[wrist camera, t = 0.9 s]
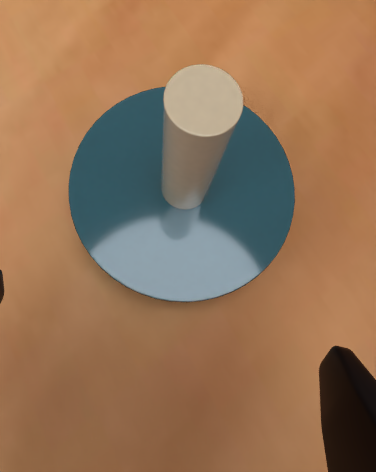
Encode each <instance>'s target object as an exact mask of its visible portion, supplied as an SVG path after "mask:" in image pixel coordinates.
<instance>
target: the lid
mask: <svg viewBox="0 0 376 472" xmlns="http://www.w3.org/2000/svg"><path fill="white" fill-rule="evenodd" d="M294 203H295V194H294V182H293V176H292V172H291V168H290V165H289V161H288V159H287V157H286V154H285V152H284V150H283V148H282V146H281V144H280V143H279V141H278V139H277V137H276V136H275V135H274V133H273V132H272V131H271V130H270V128H269V127H268V126H267V125H266V124H265V123H264V122H263V121H262V120H261V119H260V118H259V117H258V116H257V115H256V114H255V113H254V112H252V111H251V110H250V109H249V108H247V107H246V106H244V105H243V96H242V92H241V90H240V87H239V86H238V84H237V82H236V81H235V80H234V79H233V78H232V77H231V76H230V75H229V74H228V73H227V72H225V71H224V70H222V69H220V68H218V67H215V66H211V65H204V64H197V65H191V66H188V67H185V68H183V69H181V70H179V71H178V72H177V73H175V74H174V75H173V76H172V77H171V79H170V80H169V81H168V83H167V85H166V87H160V88H154V89H150V90H147V91H143V92H140V93H138V94H135V95H133V96H130V97H128V98H126V99H125V100H123V101H121V102H119V103H117V104H116V105H115V106H113V107H112V108H110V109H109V110H108V111H106V112H105V113H104V114H103V115H102V116H101V117H100V118H99V119H98V120H97V121H96V122H95V123H94V124H93V126H92V127H91V128H90V129H89V131H88V132H87V133H86V135H85V137H84V138H83V140H82V142H81V143H80V145H79V147H78V150H77V152H76V155H75V157H74V160H73V164H72V168H71V171H70V179H69V204H70V210H71V216H72V219H73V222H74V225H75V229H76V231H77V233H78V235H79V237H80V240H81V242H82V244H83V245H84V247H85V248H86V250H87V251H88V253H89V254H90V256H91V257H92V258H93V259H94V260H95V262H96V263H97V264H98V265H99V266H100V267H101V268H102V269H103V270H104V271H105V272H106V273H107V274H109V275H110V276H111V277H112V278H113V279H115V280H116V281H118V282H119V283H121V284H122V285H124V286H125V287H127V288H129V289H131V290H133V291H135V292H137V293H140V294H142V295H145V296H148V297H151V298H154V299H159V300H165V301H170V302H196V301H204V300H209V299H213V298H217V297H220V296H223V295H226V294H228V293H231V292H233V291H235V290H237V289H239V288H241V287H243V286H244V285H246V284H247V283H249V282H250V281H252V280H253V279H254V278H256V277H257V276H258V275H259V274H260V273H261V272H262V271H263V270H264V269H265V268H266V267H268V265H269V264H270V263H271V262H272V260H273V259H274V258H275V257H276V255H277V254H278V252H279V250H280V249H281V247H282V245H283V243H284V242H285V239H286V237H287V234H288V232H289V229H290V226H291V222H292V218H293V212H294Z"/></svg>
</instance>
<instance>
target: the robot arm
mask: <svg viewBox="0 0 376 472" xmlns="http://www.w3.org/2000/svg"><path fill="white" fill-rule="evenodd" d="M3 296H4V284H3V276H2V271H1V270H0V303H1V301H2V299H3ZM319 381H320V405H321V424H322V433H323V441H324V447H325V454H326V461H327V467H328V472H376V380H375V378H374V377H373V376H372V375H371V374H370V372H369V371H368V370H367V369H366V368H365V366H364V365H363V364H362V363H361V362H360V360H359V359H358V358H357V357H356V356H355V354H354V353H353V352H352V351H351V350H350V349H348V348H344V347H340V346H334V347H332V348H331V349H330V351H329V352H328V354H327V355H326V356H325V358H324V359H323V361H322V362H321V364H320V368H319Z"/></svg>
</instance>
